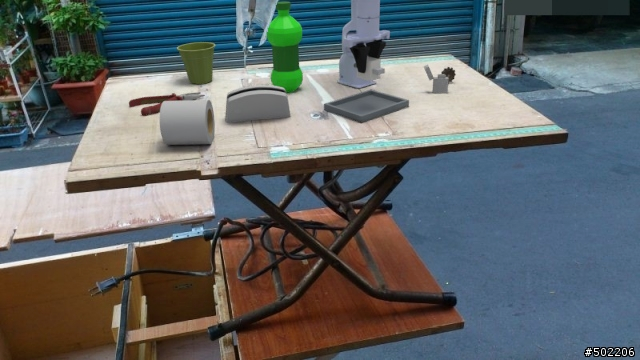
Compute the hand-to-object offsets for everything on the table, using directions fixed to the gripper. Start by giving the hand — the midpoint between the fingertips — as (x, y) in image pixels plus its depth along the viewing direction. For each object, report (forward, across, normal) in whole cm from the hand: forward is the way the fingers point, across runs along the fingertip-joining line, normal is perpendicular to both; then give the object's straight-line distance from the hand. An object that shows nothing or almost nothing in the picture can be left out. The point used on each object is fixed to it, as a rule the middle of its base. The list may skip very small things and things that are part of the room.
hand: (367, 70), depth 139 cm
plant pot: (+10, -18, +56) cm, 60 cm away
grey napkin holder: (+11, -25, +15) cm, 31 cm away
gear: (+10, +34, -1) cm, 36 cm away
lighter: (+10, +24, -4) cm, 26 cm away
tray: (+10, 0, 0) cm, 10 cm away
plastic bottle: (+10, -4, +29) cm, 31 cm away
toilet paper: (+10, -46, +12) cm, 49 cm away
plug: (+2, 0, 0) cm, 2 cm away
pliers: (+11, -37, +41) cm, 56 cm away
